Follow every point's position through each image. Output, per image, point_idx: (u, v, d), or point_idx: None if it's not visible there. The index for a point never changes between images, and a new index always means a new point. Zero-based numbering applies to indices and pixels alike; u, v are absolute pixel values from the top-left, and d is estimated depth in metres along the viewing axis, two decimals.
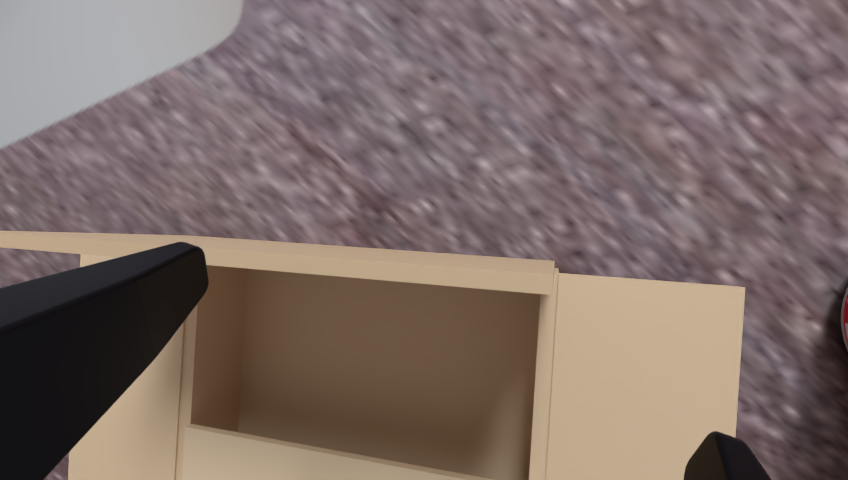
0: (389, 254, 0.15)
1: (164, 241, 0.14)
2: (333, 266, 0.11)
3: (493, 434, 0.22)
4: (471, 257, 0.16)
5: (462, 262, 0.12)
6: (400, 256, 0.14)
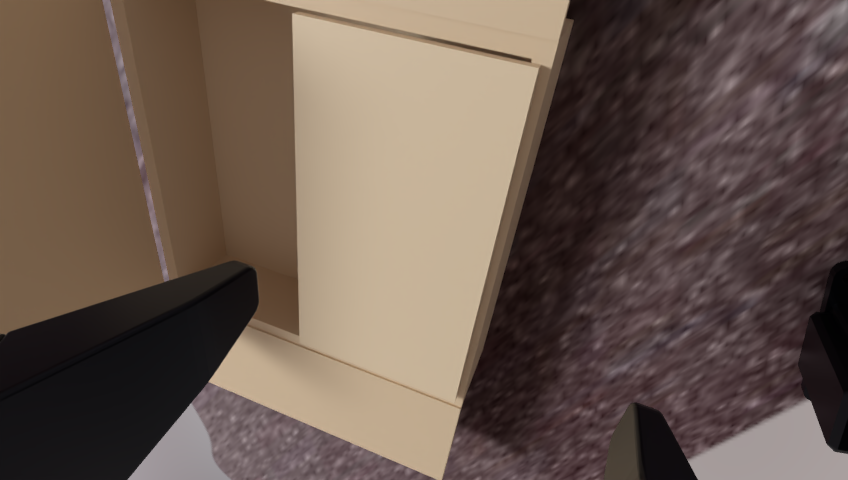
0: None
1: None
2: None
3: None
4: None
5: None
6: None
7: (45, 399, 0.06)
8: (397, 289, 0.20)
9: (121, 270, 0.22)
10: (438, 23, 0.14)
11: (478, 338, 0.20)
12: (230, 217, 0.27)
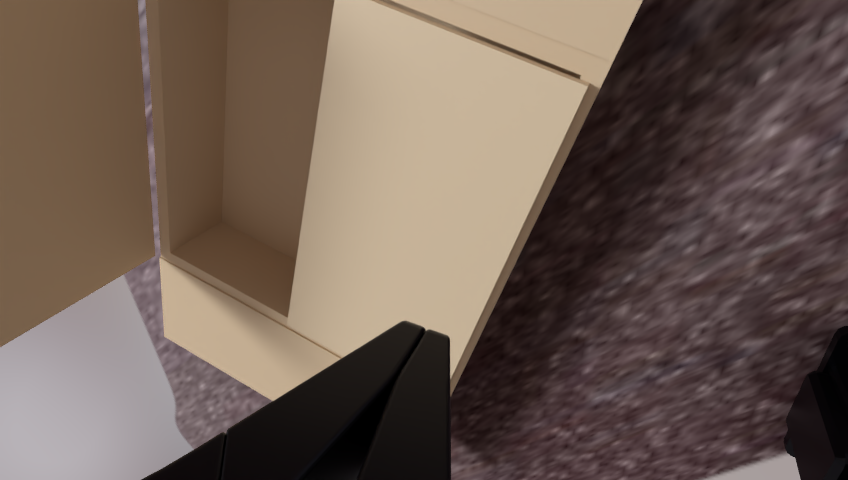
0: None
1: None
2: None
3: None
4: None
5: None
6: None
7: None
8: (398, 287, 0.19)
9: (112, 224, 0.21)
10: (489, 22, 0.14)
11: (472, 348, 0.20)
12: (231, 185, 0.26)
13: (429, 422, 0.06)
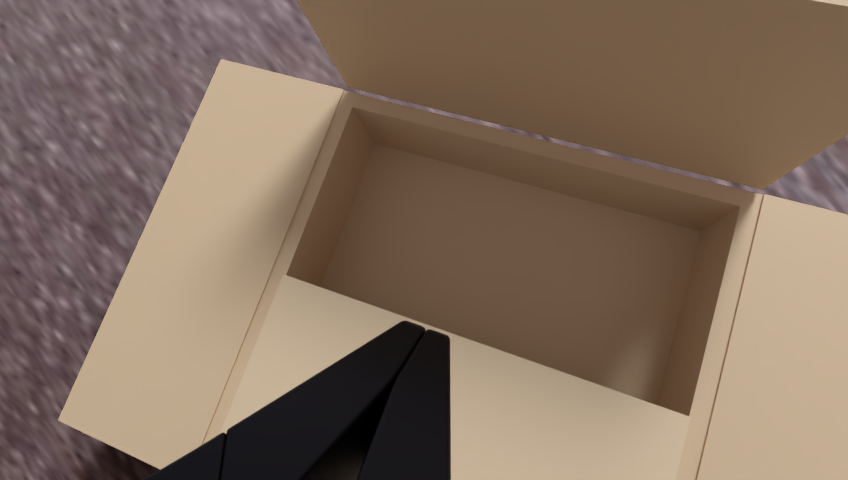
0: None
1: None
2: None
3: (612, 382, 0.20)
4: None
5: None
6: None
7: None
8: None
9: (407, 76, 0.18)
10: None
11: None
12: (423, 168, 0.23)
13: (429, 422, 0.06)
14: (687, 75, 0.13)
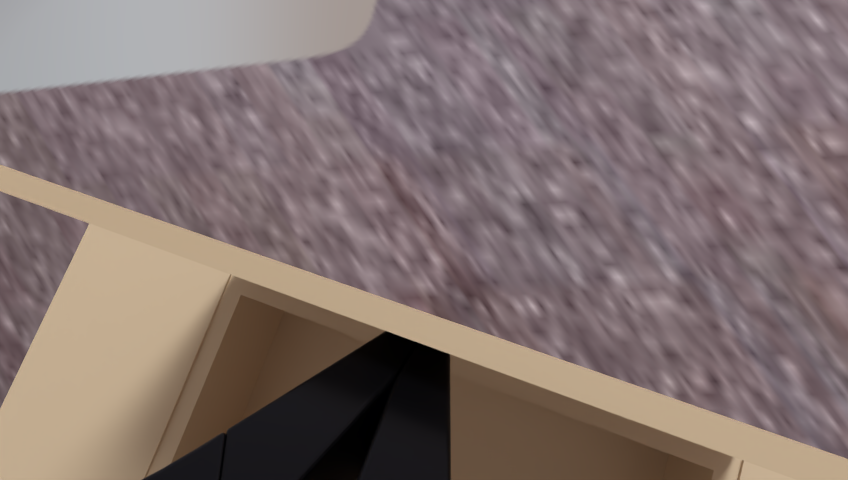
0: None
1: None
2: (650, 407, 0.06)
3: None
4: None
5: None
6: None
7: None
8: None
9: None
10: None
11: None
12: (341, 342, 0.19)
13: (429, 422, 0.06)
14: None
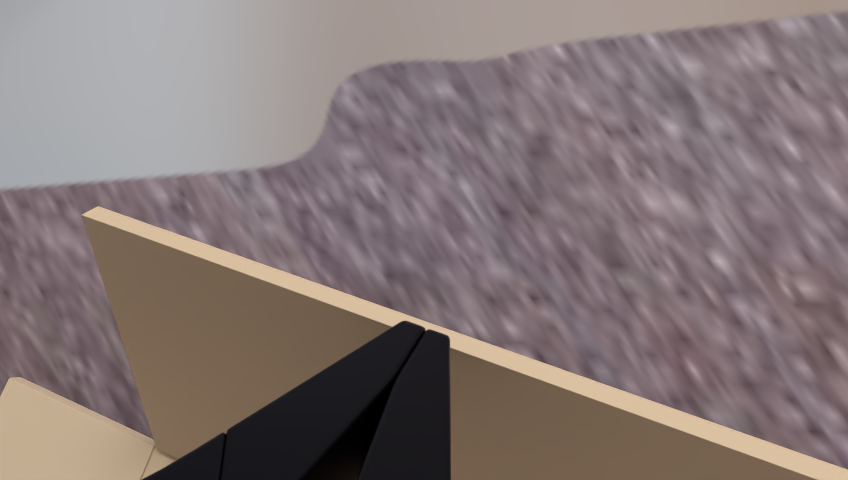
0: None
1: None
2: (609, 395, 0.08)
3: None
4: None
5: None
6: None
7: None
8: None
9: None
10: None
11: None
12: None
13: (429, 422, 0.06)
14: None
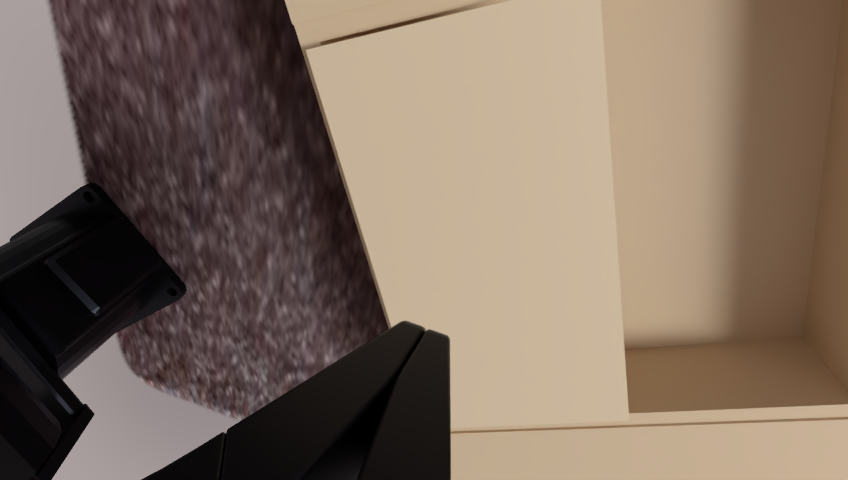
0: None
1: None
2: None
3: None
4: None
5: None
6: None
7: None
8: (457, 203, 0.15)
9: None
10: (504, 426, 0.20)
11: (341, 171, 0.16)
12: (819, 16, 0.15)
13: (429, 422, 0.06)
14: None
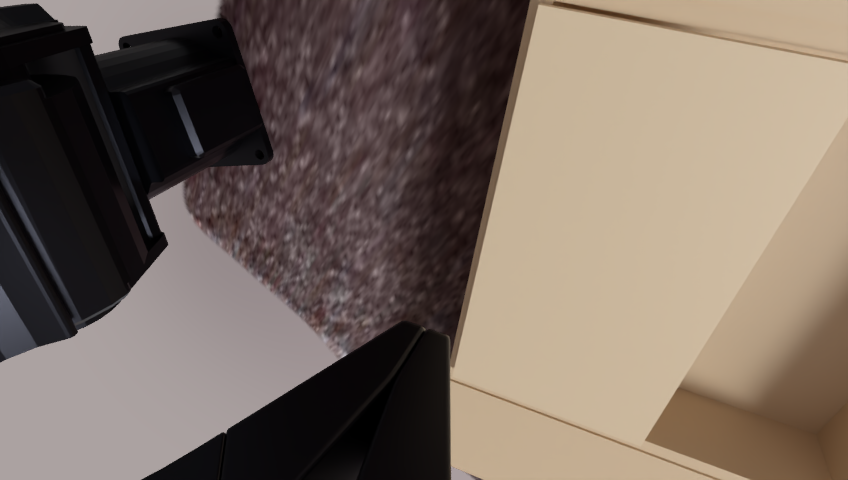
0: None
1: None
2: None
3: None
4: None
5: None
6: None
7: None
8: (600, 210, 0.15)
9: None
10: (524, 403, 0.21)
11: (502, 131, 0.15)
12: None
13: (429, 422, 0.06)
14: None
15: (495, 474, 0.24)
